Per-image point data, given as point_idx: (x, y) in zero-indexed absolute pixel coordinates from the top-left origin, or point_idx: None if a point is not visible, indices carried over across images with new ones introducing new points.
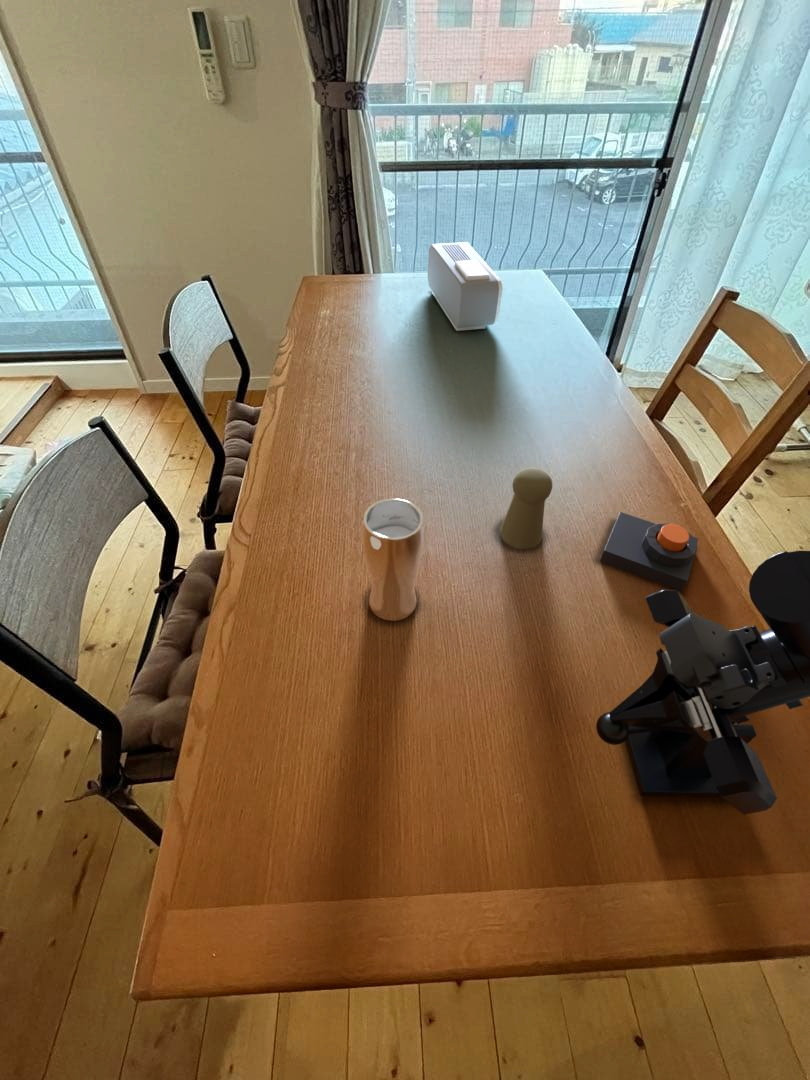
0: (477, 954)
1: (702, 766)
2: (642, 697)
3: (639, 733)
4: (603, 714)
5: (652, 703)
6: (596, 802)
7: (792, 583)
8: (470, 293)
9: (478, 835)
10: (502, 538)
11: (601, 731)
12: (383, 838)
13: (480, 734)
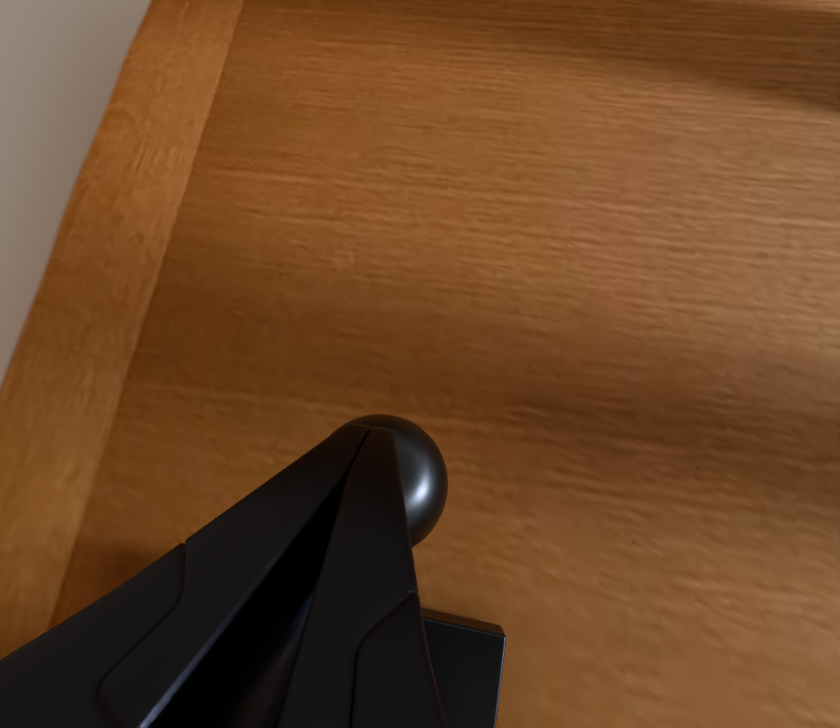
0: (112, 126)
1: None
2: (324, 609)
3: (434, 667)
4: (432, 451)
5: (198, 660)
6: (287, 440)
7: None
8: None
9: (290, 164)
10: None
11: (366, 417)
12: (330, 16)
13: (508, 214)
